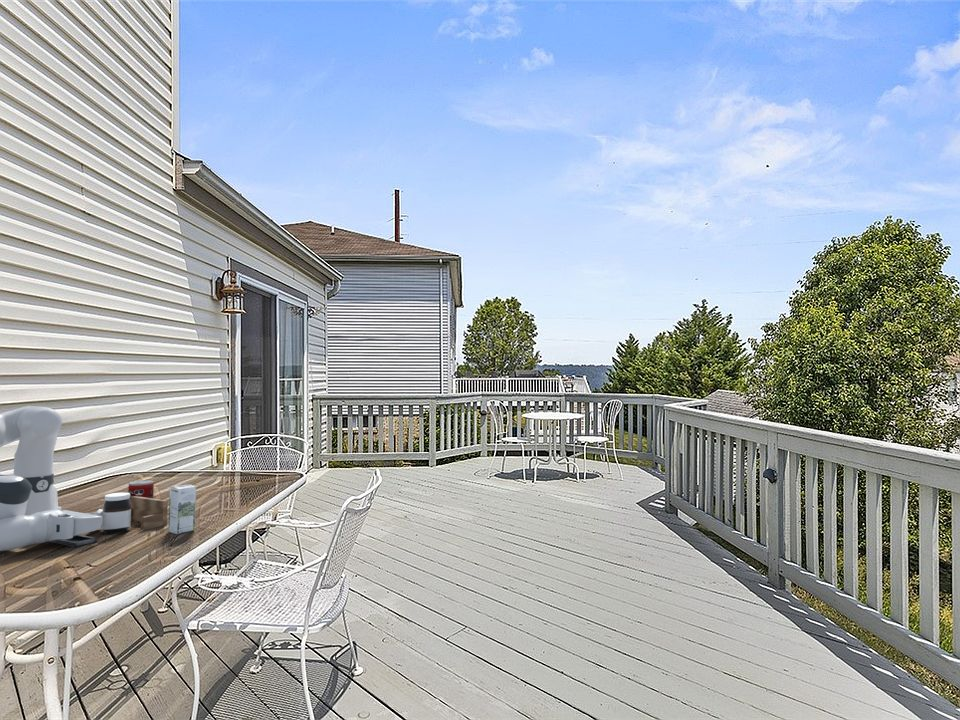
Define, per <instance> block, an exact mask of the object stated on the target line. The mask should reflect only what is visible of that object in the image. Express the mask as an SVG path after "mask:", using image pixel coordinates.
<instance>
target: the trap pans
mask: <svg viewBox="0 0 960 720" xmlns="http://www.w3.org/2000/svg"><path fill="white" fill-rule="evenodd" d="M47 542H48V543H52V544H58V545H61V546H67V547H71V548H72V547H73V548H79V547H83V546H86V545H87V546H88V545H91V544H95V543H98V538H97V537H94V536H89V535H88V536H87V535H84V534H80V535H74V536H73V538H71V539H66V540H53V541H47Z"/></svg>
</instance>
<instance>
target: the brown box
mask: <svg viewBox="0 0 960 720" xmlns="http://www.w3.org/2000/svg"><path fill="white" fill-rule="evenodd" d="M168 502H169V501H168V499H167V500H166V499H159V498H154V497H153V498H146V497H138V496H132V497H131V522H141V527H140V530H142V531H146V530H150V529H153V528H154V529H155V528H158V527H163V526H166V525H168V506H169V505H168V504H169V503H168Z"/></svg>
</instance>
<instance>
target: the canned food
mask: <svg viewBox="0 0 960 720" xmlns="http://www.w3.org/2000/svg"><path fill="white" fill-rule="evenodd" d="M154 489H155V485H154V480H150V479H149V480H148V479H147V480H145V479H143V480H134V481H131V482H128V490H127V493H130V498H129V500H130V502H131V497H132V496H138V497H146V498H153V499H154V492H155V491H154Z"/></svg>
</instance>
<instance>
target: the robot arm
mask: <svg viewBox="0 0 960 720" xmlns="http://www.w3.org/2000/svg"><path fill="white" fill-rule="evenodd" d="M62 425H63V418H62V416H61V415H60V414H59V412H57V411H56V410H55V409H53V408H50V407H48V406H39V405H38V406H37V405H35V406H33V405H26V406H22V407H20V408H19V407H18V408H15V409H12V410H9V411H4V412H1V413H0V448H2V447H4V446H6V445H9V444H11V443H15V442H17V441H18V444H17V449H16V451H15V453H14V455H13V456H14V457H13V458H14V459H13V474H0V552H3V551H10V550H14V549H20V548H23V547H27V546H29V545H32V544H42V543H46V542H47V541H53V540H66V539H71V538H73V536H74V535H84V534H87V533H88V534H89V533H91V532H96V531H98V530H100V529H102V524H103V517H102V515H103V514H102V513H97V511H95V512H87V513H86V512H78V511H74V510H68V509H62V506H59V501H58V489H57V487H56V486H54V483H55V474H54V473H53V471H54V470H53V468H54V454H55V448H56V443H57V440H58V435H59V431H60V430H61V427H62ZM95 530H96V531H95Z"/></svg>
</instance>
